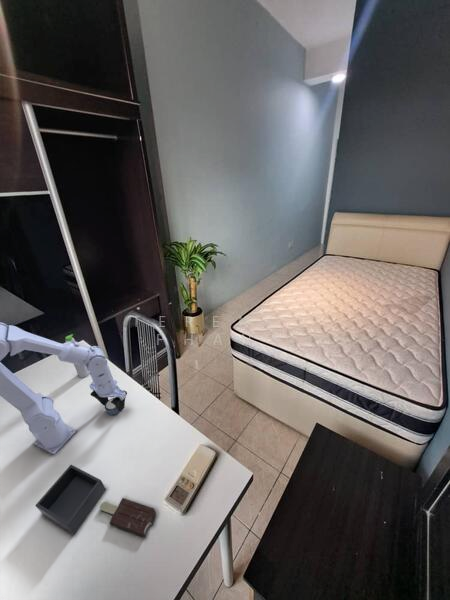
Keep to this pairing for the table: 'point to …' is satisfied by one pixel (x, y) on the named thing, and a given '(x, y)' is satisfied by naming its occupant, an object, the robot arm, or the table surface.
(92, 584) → the table surface
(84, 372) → the bottle
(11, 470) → the table surface
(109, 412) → the rice dish
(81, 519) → the tub
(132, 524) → the ice cream bar
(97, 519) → the table surface
